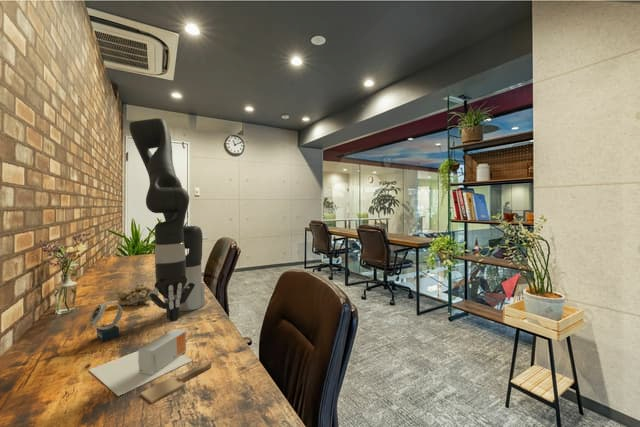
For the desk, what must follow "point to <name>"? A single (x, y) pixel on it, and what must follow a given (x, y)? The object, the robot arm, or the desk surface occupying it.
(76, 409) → the desk surface
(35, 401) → the desk surface
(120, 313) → the watch
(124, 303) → the mineral formation
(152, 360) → the skincare box
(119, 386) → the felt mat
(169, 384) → the wooden turner
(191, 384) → the desk surface
